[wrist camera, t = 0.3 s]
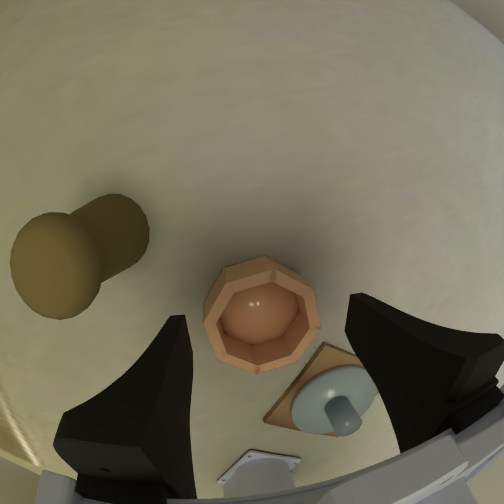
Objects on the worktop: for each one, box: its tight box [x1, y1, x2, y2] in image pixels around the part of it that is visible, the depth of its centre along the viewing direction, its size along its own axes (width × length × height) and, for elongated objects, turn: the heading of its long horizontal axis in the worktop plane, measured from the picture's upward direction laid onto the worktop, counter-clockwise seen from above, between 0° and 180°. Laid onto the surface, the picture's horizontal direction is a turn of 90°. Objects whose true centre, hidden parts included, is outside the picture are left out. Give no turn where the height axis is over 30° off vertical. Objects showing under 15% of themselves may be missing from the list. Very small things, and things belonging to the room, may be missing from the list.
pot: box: [203, 256, 321, 374], centre depth 21 cm, size 8×8×4 cm
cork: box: [10, 194, 149, 320], centre depth 15 cm, size 6×6×11 cm
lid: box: [290, 364, 377, 436], centre depth 24 cm, size 10×10×4 cm
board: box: [263, 342, 379, 437], centre depth 27 cm, size 11×11×1 cm
